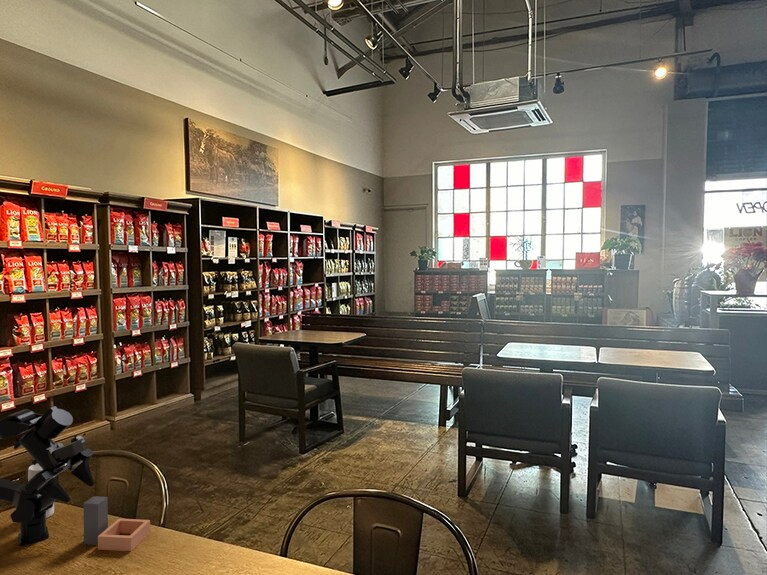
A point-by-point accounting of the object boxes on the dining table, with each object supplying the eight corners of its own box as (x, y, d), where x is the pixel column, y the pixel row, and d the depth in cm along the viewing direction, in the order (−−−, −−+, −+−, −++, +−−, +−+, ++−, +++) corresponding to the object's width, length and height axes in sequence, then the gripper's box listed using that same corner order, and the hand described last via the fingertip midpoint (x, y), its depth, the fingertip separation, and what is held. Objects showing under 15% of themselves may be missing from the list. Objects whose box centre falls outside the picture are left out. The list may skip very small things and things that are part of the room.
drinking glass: (42, 523, 140) (41, 471, 139) (22, 520, 141) (21, 469, 140) (62, 511, 146) (61, 462, 146) (43, 508, 148) (42, 460, 147)
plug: (84, 544, 129) (83, 503, 129) (94, 535, 133) (93, 496, 133) (98, 544, 129) (97, 504, 129) (108, 536, 133) (107, 496, 133)
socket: (98, 549, 127) (97, 536, 127) (119, 530, 136) (119, 518, 136) (131, 551, 126) (131, 538, 126) (150, 532, 135) (150, 520, 135)
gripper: (36, 442, 121) (77, 490, 121) (87, 419, 140) (123, 460, 139) (6, 471, 122) (46, 518, 122) (60, 444, 141) (96, 485, 140)
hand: (81, 493), depth 131 cm, fingers open, 9 cm apart
